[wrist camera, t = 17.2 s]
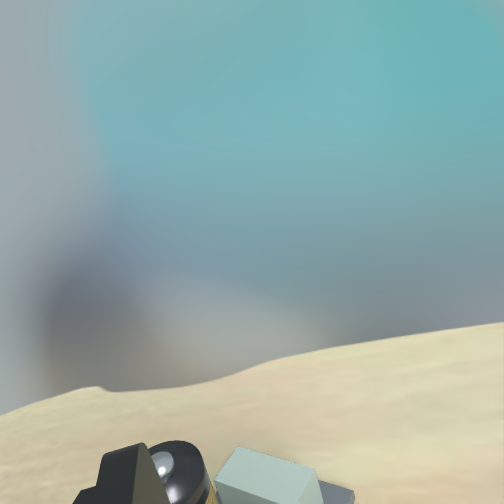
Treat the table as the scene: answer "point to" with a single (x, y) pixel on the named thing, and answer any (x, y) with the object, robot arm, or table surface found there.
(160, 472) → the battery cell
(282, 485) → the tester dock
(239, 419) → the table surface
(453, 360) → the table surface
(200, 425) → the table surface
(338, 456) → the table surface
